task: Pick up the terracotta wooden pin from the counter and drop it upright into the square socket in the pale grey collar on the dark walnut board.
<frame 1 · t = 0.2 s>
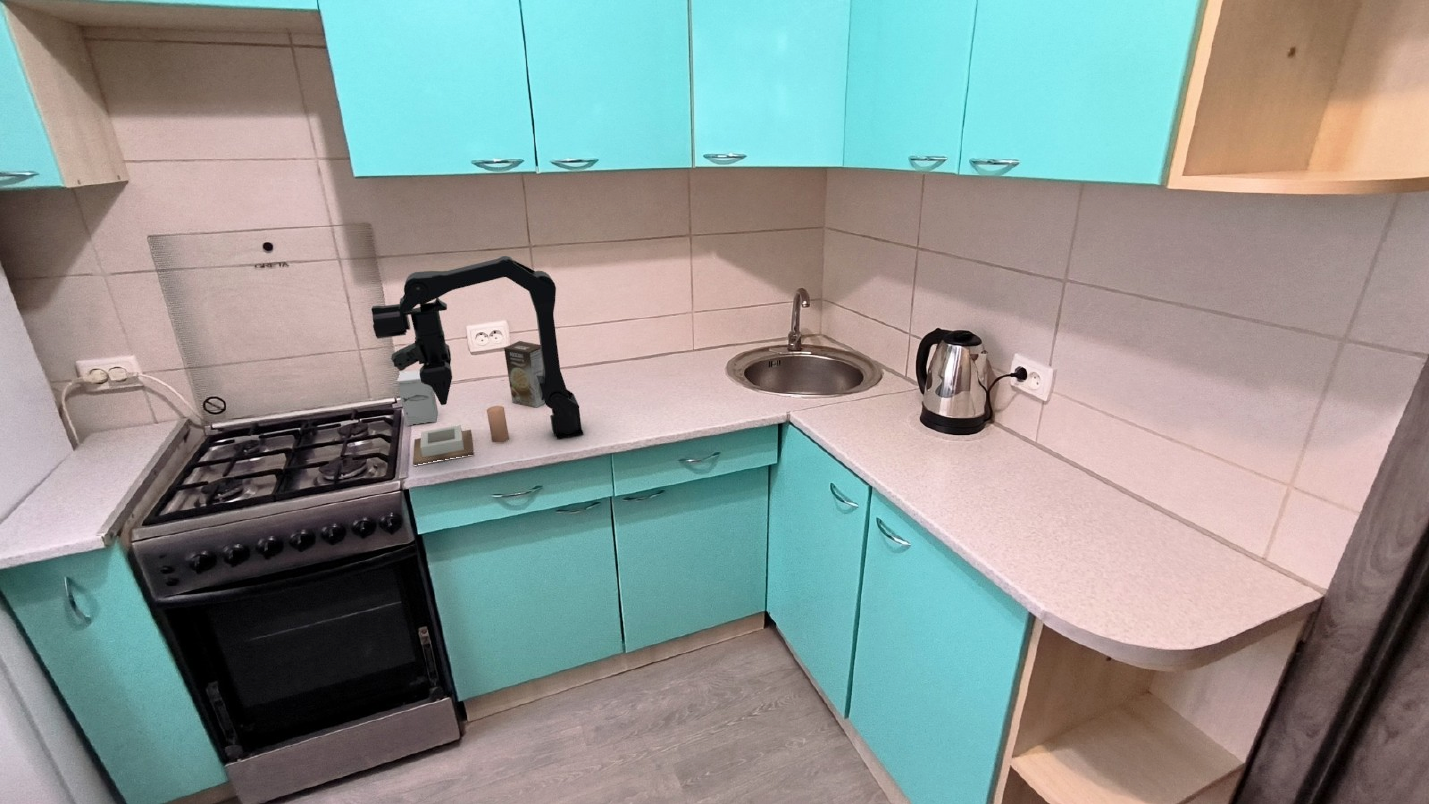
hand: (443, 397, 153), 14 cm above the worktop, tool pointing down, fingers open, 9 cm apart
supplement box: (423, 419, 176), on the worktop
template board: (444, 449, 160), on the worktop
terracotta pin: (500, 439, 164), on the worktop
coffee box: (532, 402, 185), on the worktop
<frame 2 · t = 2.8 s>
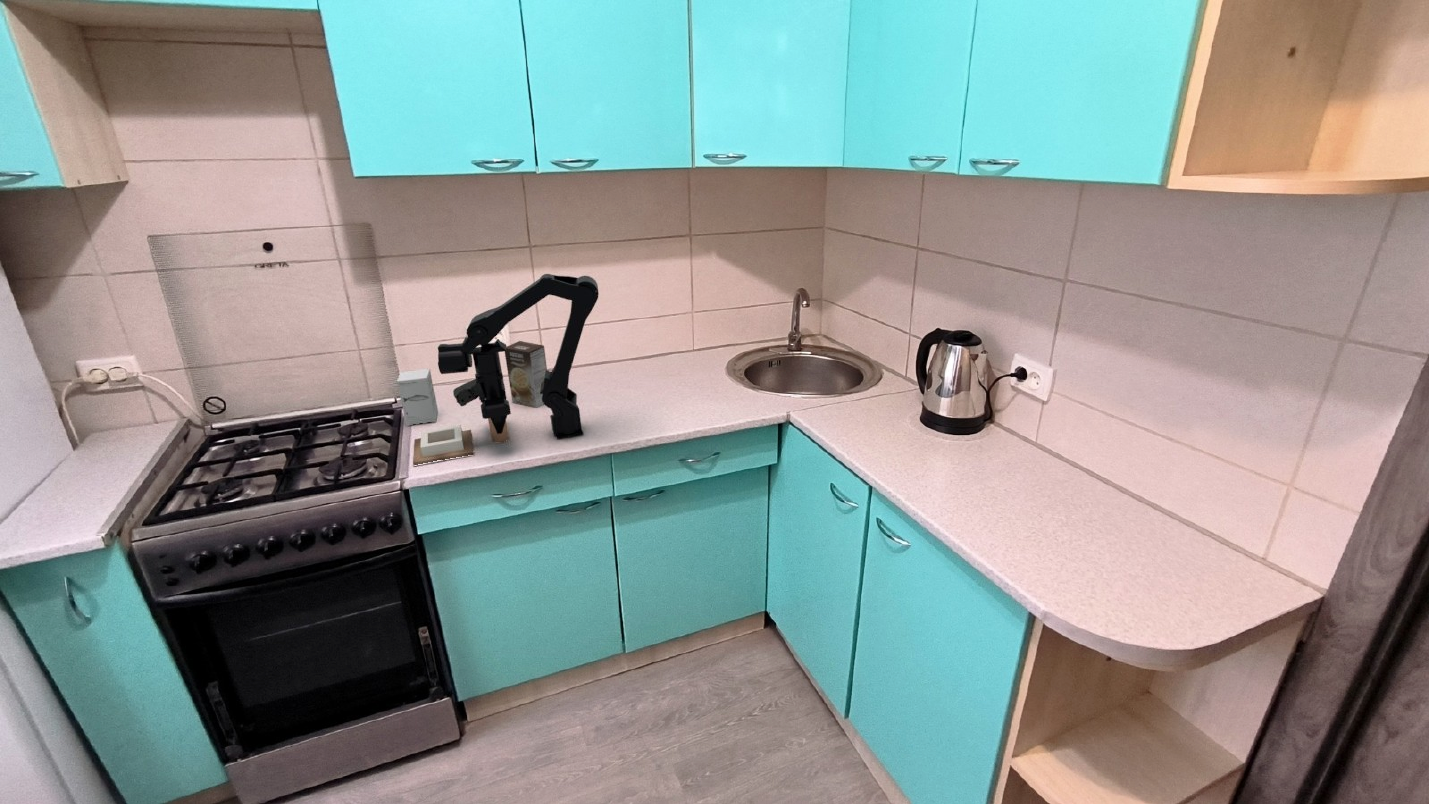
hand: (499, 429, 163), 3 cm above the worktop, tool pointing down, fingers closed on terracotta pin, 4 cm apart
terracotta pin: (500, 439, 164), on the worktop, touching gripper
everything else where it was.
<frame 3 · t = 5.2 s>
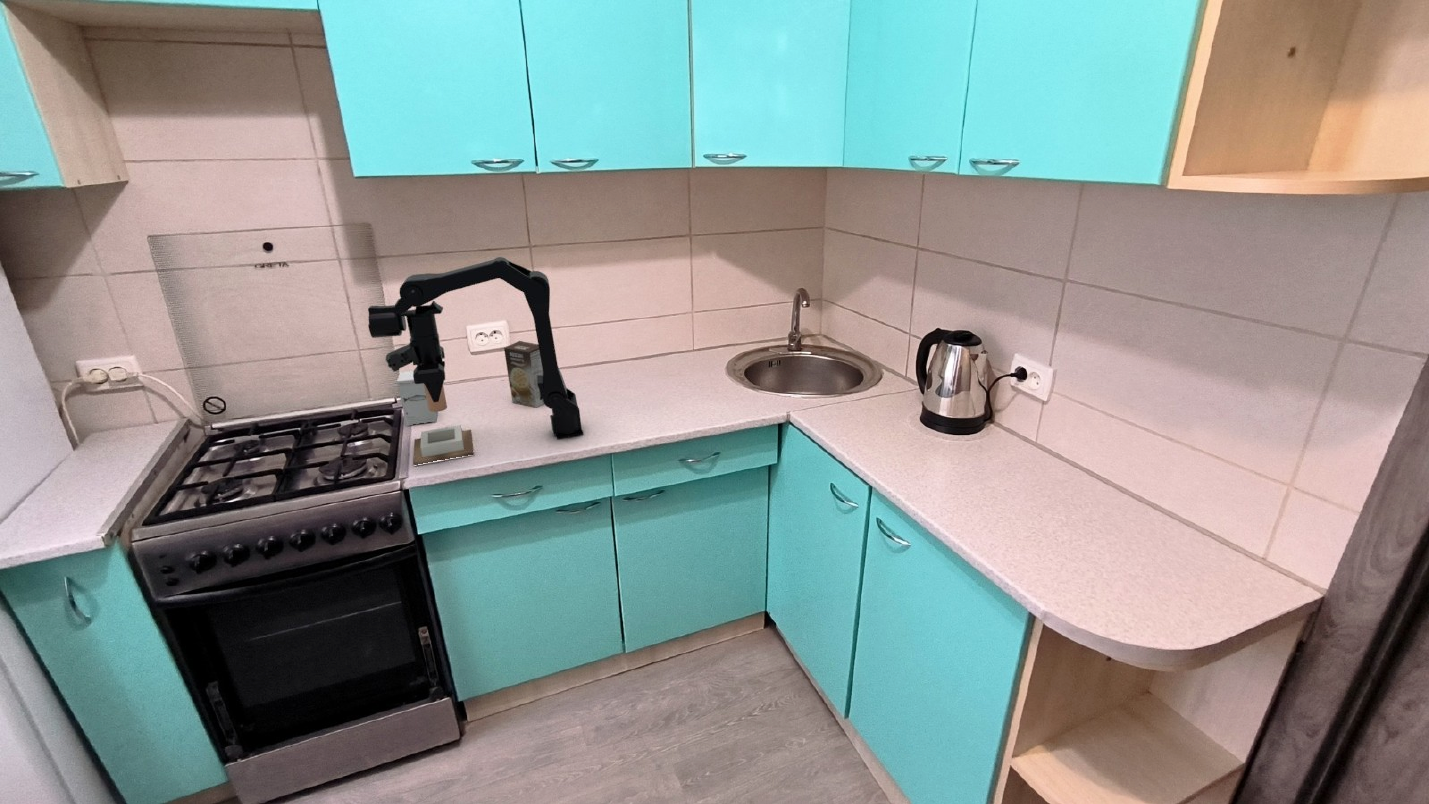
hand: (436, 398, 155), 13 cm above the worktop, tool pointing down, fingers closed on terracotta pin, 4 cm apart
terracotta pin: (438, 408, 156), point 10 cm above the worktop, touching gripper
everything else where it was.
when the fingers open (4 cm above the worktop, at t = 7.9 s): terracotta pin stays where it is, resting on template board.
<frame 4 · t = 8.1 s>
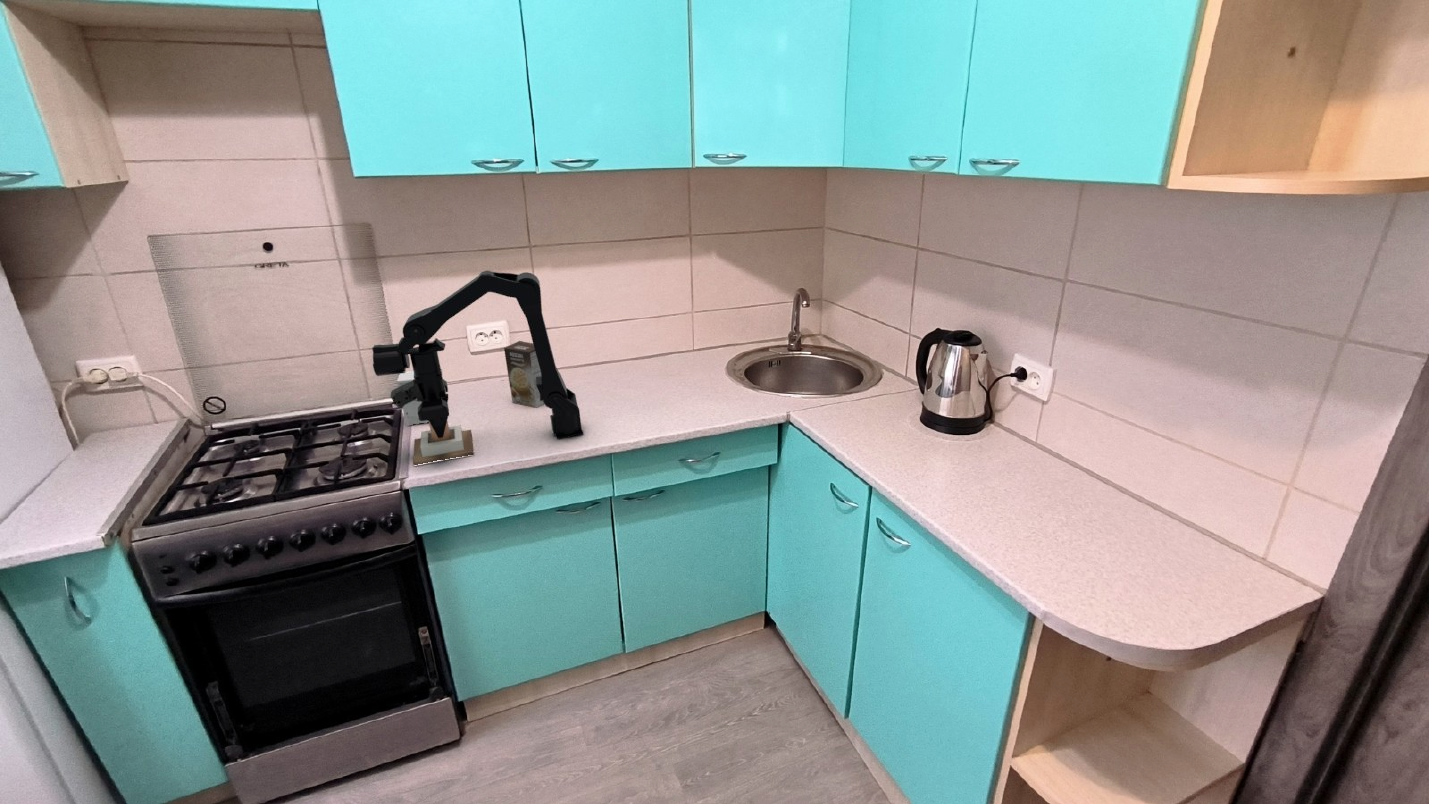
hand: (440, 432, 158), 4 cm above the worktop, tool pointing down, fingers open, 6 cm apart
terracotta pin: (443, 445, 159), point 1 cm above the worktop, touching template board
everything else where it was.
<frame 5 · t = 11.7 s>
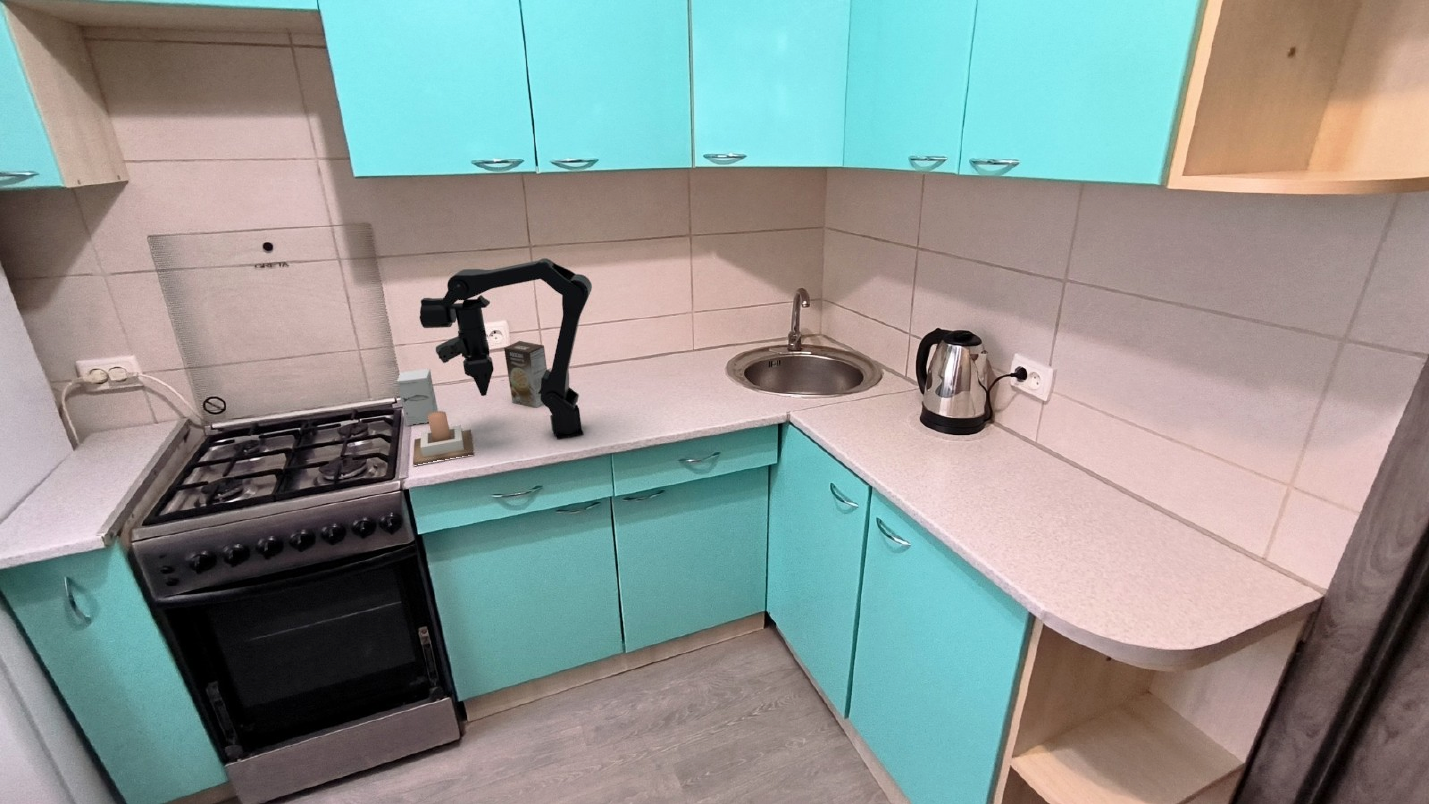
hand: (482, 388, 161), 13 cm above the worktop, tool pointing down, fingers open, 9 cm apart
nothing on the worktop moved.
at the end: terracotta pin 0.0 cm off-centre on the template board, point 1.0 cm above the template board's base; terracotta pin tilted 0°; the gripper is holding nothing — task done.
